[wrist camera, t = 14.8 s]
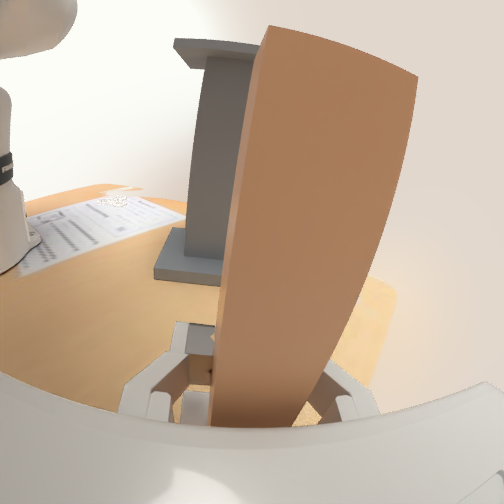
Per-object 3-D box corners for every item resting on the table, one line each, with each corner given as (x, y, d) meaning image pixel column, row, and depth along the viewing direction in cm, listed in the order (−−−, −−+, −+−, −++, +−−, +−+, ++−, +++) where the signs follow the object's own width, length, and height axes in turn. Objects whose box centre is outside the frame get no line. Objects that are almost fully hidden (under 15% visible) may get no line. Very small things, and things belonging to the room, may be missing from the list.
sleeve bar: (464, 105, 3) (372, 102, 7) (179, 17, 3) (204, 66, 6) (266, 489, 12) (260, 438, 15) (183, 487, 11) (186, 435, 15)
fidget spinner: (94, 205, 49) (94, 201, 49) (110, 196, 55) (110, 193, 54) (122, 209, 49) (122, 205, 49) (136, 200, 55) (137, 196, 54)
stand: (289, 292, 32) (340, 65, 21) (154, 278, 30) (174, 38, 19) (275, 247, 43) (308, 79, 32) (172, 236, 41) (191, 61, 29)
